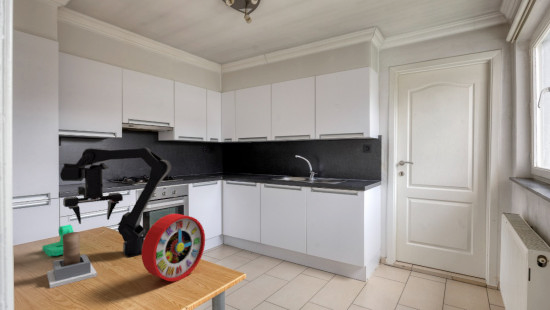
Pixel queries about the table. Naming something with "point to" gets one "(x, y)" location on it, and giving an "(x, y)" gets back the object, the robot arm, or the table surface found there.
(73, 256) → the walnut peg
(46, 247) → the camera mount
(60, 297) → the table surface
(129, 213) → the robot arm
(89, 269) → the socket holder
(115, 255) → the table surface
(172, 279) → the toy clock
